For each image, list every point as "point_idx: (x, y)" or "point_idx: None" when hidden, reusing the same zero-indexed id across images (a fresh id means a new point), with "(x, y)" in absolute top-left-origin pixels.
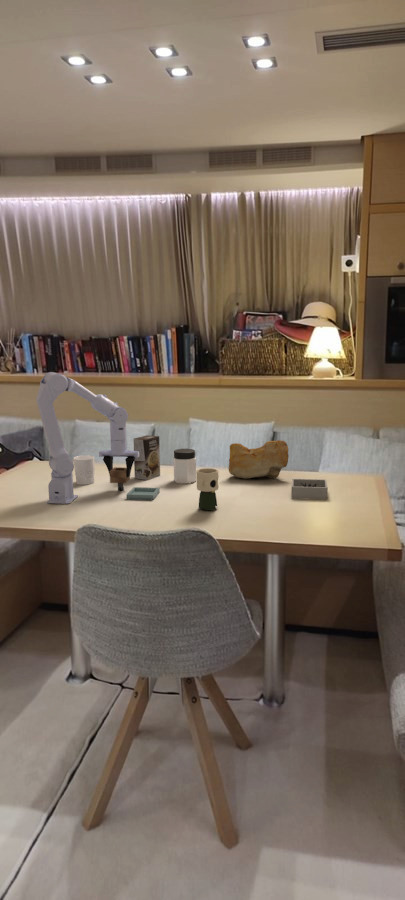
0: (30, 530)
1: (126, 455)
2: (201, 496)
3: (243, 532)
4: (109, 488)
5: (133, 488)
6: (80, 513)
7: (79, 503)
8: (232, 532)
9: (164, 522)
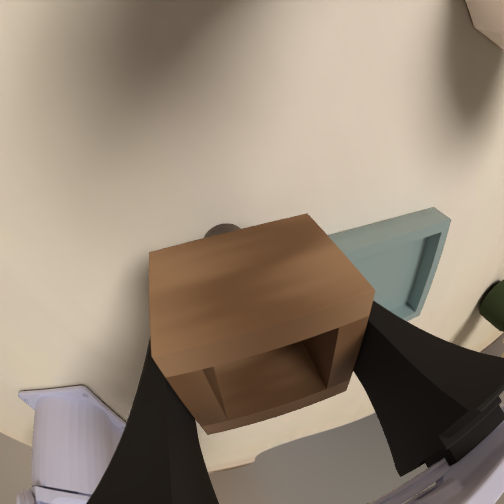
0: None
1: (429, 483)
2: (497, 328)
3: (481, 343)
4: (107, 221)
5: None
6: (223, 440)
7: None
8: None
9: None
